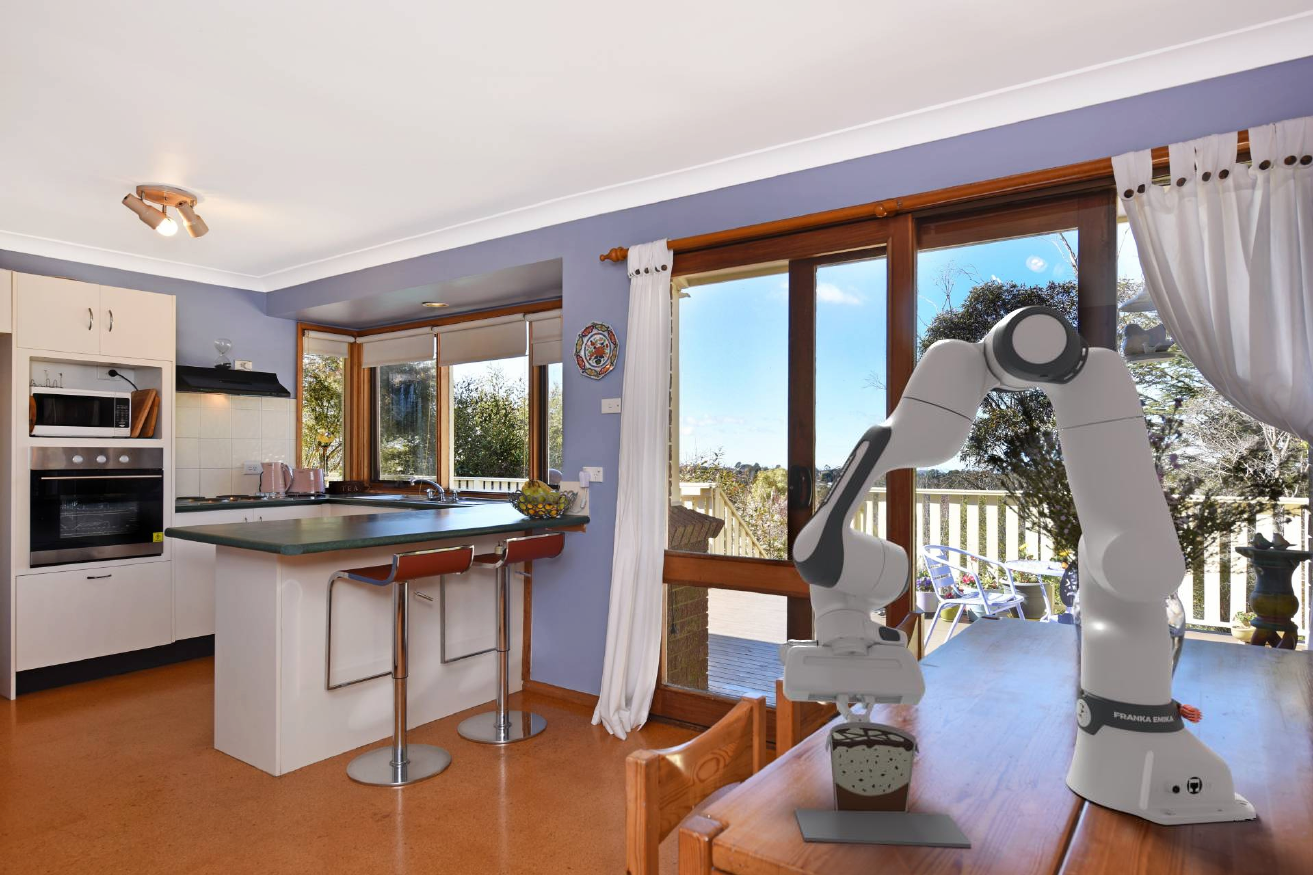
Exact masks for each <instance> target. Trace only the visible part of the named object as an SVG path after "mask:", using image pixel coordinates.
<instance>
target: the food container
mask: <svg viewBox="0 0 1313 875" xmlns="http://www.w3.org/2000/svg"><path fill="white" fill-rule="evenodd" d="M824 746H825V747H824V748H825V751H826V753H828V752H830V761H831V774H832V775H831V776H832V788H833V789H832V790H833V800H834V801H833V802H834V803H833V804H834V810H841V811H866V812H892V813H908V809H909V801H910V800H909V799H910V793H911V792H910V791H911V783H912V776H913V767H914V759H915V752H916V753H917V754H920V748H919V743H918V741H917V737H916V736H915V735H914V734H912V733H910V732H908V731H906V730H904V729H901V728H899V727H896V726H892V725H888V724H884V723H877V722H871V721H870V722H847V721H846V722H842V723H838V724H836V725H834V726H832V727H831V728H830V730H829V733H828V734H827V736H826V741H825V745H824ZM829 749H830V751H829Z"/></svg>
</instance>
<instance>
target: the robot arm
mask: <svg viewBox="0 0 1313 875" xmlns="http://www.w3.org/2000/svg"><path fill="white" fill-rule="evenodd" d="M1035 388H1038V389H1039V390H1040V391H1042V392H1043V393H1044V394H1045V395H1046V397H1047V398H1048V399H1049V401H1050V403H1051V406H1052V409H1053V410H1054V417H1055V424H1056V429H1057V434H1058V438H1059V444H1060V449H1061V454H1062V460H1063V463H1064V464H1063V465H1064V469H1065V473H1066V474H1065V475H1066V478H1067V484H1068V485H1069V486H1068V487H1069V489H1070V493H1071V496H1072V500H1073V503H1074V507H1075V510H1076V511H1075V512H1076V514H1077V518H1078V521H1079V525H1080V526H1079V527H1080V529H1081V533H1082V534H1081V535H1080V538H1079V541H1078V546H1077V560H1078V562H1077V563H1078V564H1077V566H1078V567H1077V568H1078V569H1077V570H1078V571H1077V572H1078V594H1079V596H1078V597H1079V611H1080V624H1081V626H1080V627H1081V628H1080V629H1081V647H1080V648H1081V650H1080V652H1081V654H1080V684H1079V685H1077V688H1076V689H1077V690H1076V723H1077V734H1076V740H1075V741H1076V742H1075V747H1074V752H1073V757H1072V760H1071V764H1070V768H1069V770H1068V772H1067V775H1066V778H1065V782H1066V784H1067V786H1068V787H1069V788H1070V789H1071V790H1072V791H1073V792H1075V793H1076V794H1077V795H1079V796H1081V797H1083V798H1085V799H1087V800H1088V801H1091V802H1094V803H1096V804H1098V805H1100V806H1103V807H1107V808H1109V809H1114V810H1116V811H1119V812H1124V813H1128V814H1131V815H1135V816H1137V817H1141V818H1143V819H1145V820H1148V821H1151V822H1153V823H1157V824H1160V825H1166V826H1170V825H1184V824H1187V825H1188V824H1199V823H1200V824H1201V823H1217V822H1218V823H1219V822H1233V821H1234V820H1235V821H1246V820H1245V819H1250V818H1256V819H1257V813H1256V810H1255V807H1254V806H1253V805H1252V803H1251V802H1249V801H1248V800H1247V799H1246V798H1245V797H1243V796H1242V795H1240V794H1239V793H1238V792H1236V791H1235V784H1234V779H1233V775H1232V772H1231V768H1230V767H1229V765H1228V764H1227V762H1226V761H1225V760H1224V759H1223V757H1221V756H1220V755H1219V754H1218V753H1217V752H1216V751H1214V750H1213V749H1212V748H1211V747H1210V746H1208V745H1207V744H1206V743H1204V742H1203V741H1202V740H1201V739H1200V738H1198V737H1197V736H1196V735H1195V734H1194V733H1192V732H1191V731H1190V730H1189V729H1187V728H1186V727H1185V726H1186V725H1185V723H1184V720H1183V719H1185V720H1187V721H1189V722H1191V723H1193V724H1197V723H1199V722H1201V720H1203V712H1202V711H1201V709H1199V708H1196V707H1193V706H1192V705H1190V704H1182V703H1181V702H1179V701H1177V700H1176V699H1174V698H1172V692H1173V691H1172V684H1173V683H1172V682H1173V681H1172V680H1173V679H1172V678H1173V641H1172V640H1173V639H1172V636H1171V633H1170V632H1171V631H1170V625H1169V618H1168V610H1167V601H1166V598H1168V597H1170V596H1171V595H1173V594H1174V593H1175V592H1176V591H1177V590H1178V589H1179V588H1180V587H1181V585H1182V583H1183V582H1184V579H1185V575H1186V560H1185V556H1184V553H1183V551H1182V547H1181V545H1180V541H1179V538H1178V533H1177V531H1176V527H1175V524H1174V523H1175V522H1174V521H1173V518H1172V514H1171V511H1170V508H1169V505H1168V502H1167V498H1166V496H1165V494H1164V493H1165V492H1164V491H1163V488H1162V485H1161V483H1160V480H1159V476H1158V472H1157V470H1156V466H1155V461H1154V457H1153V452H1152V448H1151V443H1150V437H1149V434H1148V430H1147V429H1148V428H1147V425H1146V419H1145V414H1144V411H1143V408H1142V407H1143V406H1142V402H1141V400H1140V396H1139V393H1138V389H1137V387H1136V384H1135V381H1134V379H1133V377H1132V374H1131V372H1130V370H1129V367H1128V364H1127V363H1126V361H1125V359H1124V357H1123V356H1122V355H1121V354H1120V353H1118V352H1117V351H1115V350H1112V349H1109V348H1106V347H1093V346H1092V347H1090V346H1089V343H1088V341H1087V340H1086V339H1085V338H1084V337H1083V336H1082V335H1081V334H1080V333H1079V332H1078V331H1077V329H1076V328H1075V327H1074V326H1073V324H1072V323H1071V321H1070V320H1069V319H1068V318H1067V317H1066V316H1065V315H1064V314H1062V313H1061V312H1059V311H1058V310H1056V309H1054V308H1053V307H1050V306H1043V305H1030V306H1024V307H1021V308H1017V309H1016V310H1014V311H1012V312H1010V313H1009V314H1006V316H1005V317H1004V318H1002V319H1001V320H1000V321H998V322H997V323H996V324H995V325H993V327H992V328H991V329H990V331H989V332H988V333H987V335H985V336H984V337H983V338H982V339H981V340H980V341H979V342H969V341H965V340H963V339H956V338H955V339H954V338H946V339H941V340H937V341H935V342H934V343H933V344H931V345H930V346H929V347H928V348H927V349H926V351H925V353H924V354H923V355H922V356H921V359H920V360H919V361H918V363H917V365H916V367H915V368H914V370H913V372H912V373H911V375H910V378H909V380H908V382H907V384H906V386H905V387H904V390H903V392H902V395H901V397H900V400H899V402H898V404H897V406H896V407H895V409H893V410H894V411H892V413H891V414H890V415H889V417H888V418H887V419H885V421H883V422H882V423H879V424H875V425H872V426H870V427H869V428H868V429H867V430H866V431H865V432H864V433H863V435H862V436H861V438H860V439H859V440H858V442H857V443H856V444H855V446H854V447H853V449H852V451H851V453H850V454H849V455H848V457H847V459H846V460H845V462H844V464H843V465H842V467H841V469H840V470H839V472H838V474H837V476H836V477H835V479H834V481H833V482H832V483H831V486H829V489H828V490H827V492H826V494H825V496H824V497H823V499H822V500H821V502H820V504H819V505H818V506H817V509H815V511H814V513H813V514H812V516H810V518H809V519H808V520H807V521H806V522H805V523H804V525H803V526H802V528H801V529H800V531H798V534H797V535H796V537H795V539H794V541H793V544H792V551H791V556H792V561H793V564H794V566H795V568H796V571H797V572H798V574H799V576H800V577H801V579H802V580H803V581H804V582H805V583H807V584H809V594H810V603H811V607H812V610H813V611H814V615H815V616H814V617H815V618H814V626H813V628H814V633H815V634H814V635H815V640H813V639H805V640H799V639H798V640H796V639H788V640H787V642H783V643H782V644H781V645H779V647H778V658H779V659H778V660H779V662H780V663H781V665H782V666H783V674H782V693H783V695H784V696H785V698H786V699H787V700H788V701H791V702H792V701H793V702H813V703H815V702H817V703H836V709H837V710H838V712H839V713H840V714H841V715H842V717H843V718H844V719H845V720H846V723H847V722H871V718H870V716H871V713H872V711H873V709H874V706H875V705H895V706H896V705H900V706H917V705H919V704H920V702H921V701H922V700H923V698H924V696H925V694H926V684H925V680H924V676H923V673H922V669H921V667H920V664H919V661H918V659H917V658H916V655H915V654H914V653H913V651H912V650H910V649H909V648H907V646H908V642H909V641H908V636H907V633H906V632H905V631H902V630H900V629H897V628H893V627H890V626H887V625H884V624H881V623H878V622H876V621H873V620H872V617H871V614H872V612H874V611H875V612H877V611H879V610H881V609H883V608H885V607H887V606H889V605H890V604H892V603H893V602H895V601H897V600H898V599H900V598H901V597H902V596H903V595H904V594H905V593H906V592H907V591H908V589H909V587H910V584H911V579H912V564H911V561H910V558H909V555H908V553H907V550H905V548H904V547H903V546H901V545H898V544H896V543H894V542H892V541H889V540H886V539H884V538H881V537H879V536H875V535H871V534H868V533H867V532H864V531H860V530H859V529H855V528H852V527H851V525H852V524H851V523H852V521H853V520H854V518H855V516H856V515H857V513H858V511H859V510H860V507H861V506H862V505H863V503H864V501H865V500H866V498H867V497H868V494H869V493H870V491H871V489H872V487H873V486H874V484H875V483H876V481H878V480H879V478H881V476H883V475H884V474H887V473H888V472H890V471H894V470H898V469H899V470H900V469H913V468H914V469H918V468H922V469H923V468H930V467H931V468H932V467H936V466H938V465H941V464H944V463H946V462H948V461H951V460H952V459H953V458H955V457H956V456H957V455H958V454H959V452H960V451H961V450H962V448H963V447H964V444H965V443H966V441H967V439H968V437H969V434H970V432H971V430H972V427H973V424H974V422H975V419H976V416H977V415H978V411H979V409H980V406H981V404H982V403H983V401H984V399H985V397H986V396H987V395H988V394H989V393H1006V394H1016V393H1023V392H1026V391H1028V390H1031V389H1035ZM849 704H861V707H862V709H863V710H865V713H864V714H861V713H860V714H858V713H853V711H852V710H851V708H850V707H849Z"/></svg>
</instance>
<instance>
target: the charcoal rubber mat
mask: <svg viewBox="0 0 1313 875" xmlns="http://www.w3.org/2000/svg"><path fill="white" fill-rule="evenodd" d="M793 812H794V815H795V817H796V821H797V824H798V826H799V829H800V833H801V836H802V838H803V841H804V842H822V843H823V842H829V843H849V844H850V843H853V844H872V845H873V844H874V845H875V844H877V845H897V846H899V845H903V846H927V847H928V846H929V847H948V848H949V847H950V848H951V847H952V848H972V843H971V842H970V841H969V840H968V838H967V837H966V835H965V834H964V833H963V832H962V830H961V829H960V828H959V826H958V825H957V824H956V822H955V821H954V820H953V819H952V817H951V816H950V814H939V813H938V814H937V813H917V812H915V813H913V812H907V813H892V812H866V811H841V810H835V809H814V808H813V809H810V808H809V809H808V808H794V810H793Z"/></svg>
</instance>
